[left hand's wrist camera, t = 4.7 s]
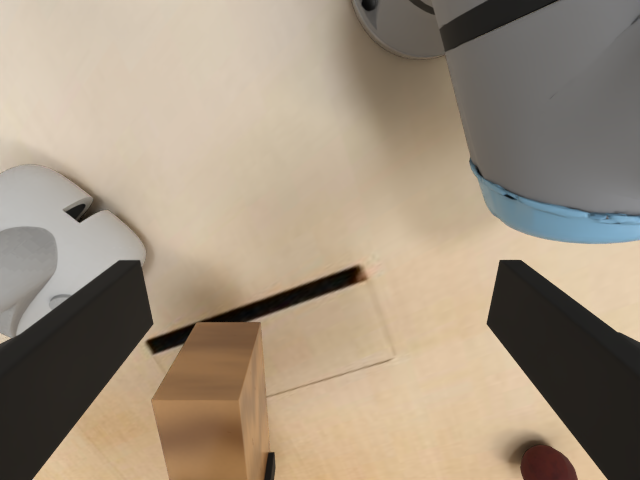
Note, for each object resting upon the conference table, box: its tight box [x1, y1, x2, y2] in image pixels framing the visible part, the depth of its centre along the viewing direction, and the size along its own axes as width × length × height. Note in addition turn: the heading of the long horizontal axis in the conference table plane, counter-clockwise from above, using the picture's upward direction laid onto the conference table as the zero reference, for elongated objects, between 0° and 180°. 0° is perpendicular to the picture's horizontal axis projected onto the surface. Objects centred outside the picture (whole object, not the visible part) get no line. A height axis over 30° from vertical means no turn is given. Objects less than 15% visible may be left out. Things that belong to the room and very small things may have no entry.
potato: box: [520, 445, 578, 480], centre depth 52 cm, size 7×8×7 cm
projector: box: [0, 164, 146, 338], centre depth 36 cm, size 22×23×15 cm
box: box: [151, 322, 270, 480], centre depth 36 cm, size 23×7×11 cm, turn 0°
